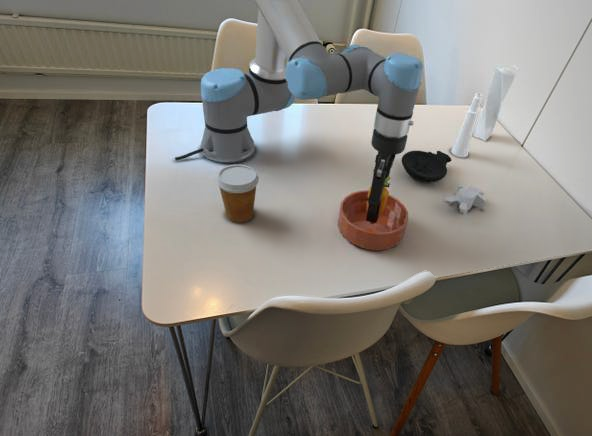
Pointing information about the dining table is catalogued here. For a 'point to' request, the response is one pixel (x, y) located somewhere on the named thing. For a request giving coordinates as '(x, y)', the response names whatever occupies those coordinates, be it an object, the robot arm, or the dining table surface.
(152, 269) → the dining table surface
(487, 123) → the skyscraper
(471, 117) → the cosmetic bottle
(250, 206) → the disposable coffee cup
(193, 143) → the dining table surface
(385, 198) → the carrot
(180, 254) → the dining table surface
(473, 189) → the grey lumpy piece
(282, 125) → the dining table surface
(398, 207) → the bowl
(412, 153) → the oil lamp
